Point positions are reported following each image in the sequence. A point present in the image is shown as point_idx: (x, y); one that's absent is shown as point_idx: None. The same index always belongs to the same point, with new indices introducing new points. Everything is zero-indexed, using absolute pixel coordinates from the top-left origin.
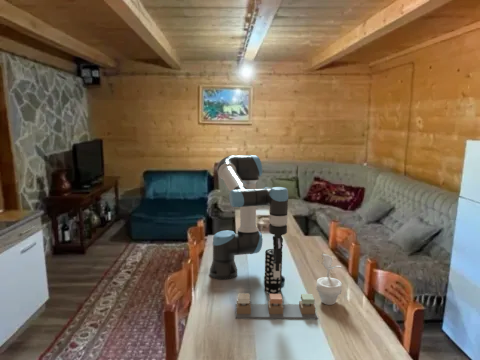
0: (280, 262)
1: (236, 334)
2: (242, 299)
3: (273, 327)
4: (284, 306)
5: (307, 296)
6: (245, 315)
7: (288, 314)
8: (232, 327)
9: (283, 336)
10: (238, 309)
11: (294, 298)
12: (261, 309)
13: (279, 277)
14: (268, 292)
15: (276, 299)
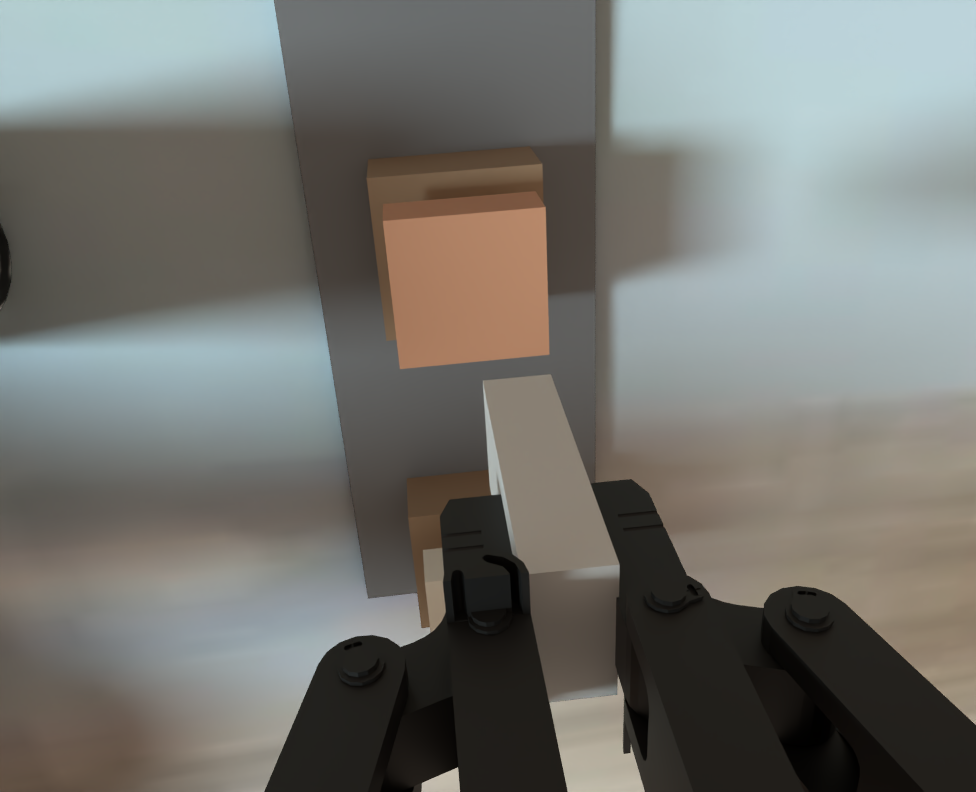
0: (859, 633)
1: (817, 530)
2: None
3: (744, 248)
4: (348, 117)
5: None
6: None
7: (535, 79)
8: (720, 567)
9: (902, 157)
10: None
11: None
12: (448, 373)
13: (552, 384)
14: (2, 304)
15: (547, 282)
